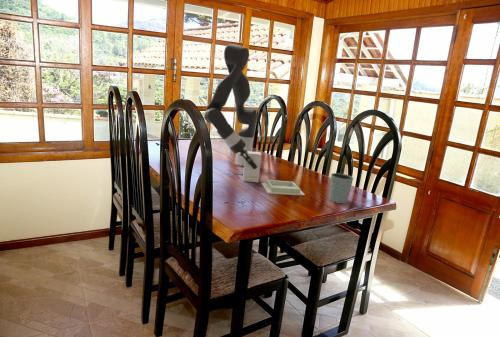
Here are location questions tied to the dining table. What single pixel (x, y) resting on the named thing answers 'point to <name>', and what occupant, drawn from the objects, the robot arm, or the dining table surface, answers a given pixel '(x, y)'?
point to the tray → (282, 187)
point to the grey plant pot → (340, 187)
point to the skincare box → (248, 171)
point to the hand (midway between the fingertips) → (254, 166)
